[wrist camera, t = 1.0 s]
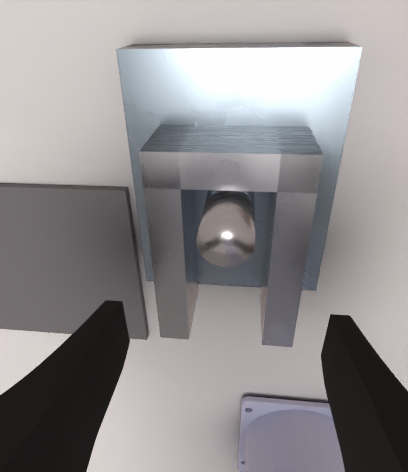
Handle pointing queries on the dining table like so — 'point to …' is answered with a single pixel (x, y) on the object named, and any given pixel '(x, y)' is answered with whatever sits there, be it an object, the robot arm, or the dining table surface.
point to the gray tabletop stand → (230, 179)
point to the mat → (67, 257)
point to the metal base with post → (240, 114)
